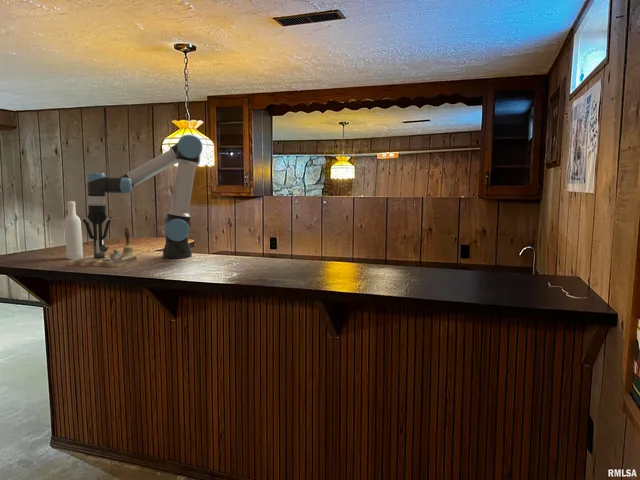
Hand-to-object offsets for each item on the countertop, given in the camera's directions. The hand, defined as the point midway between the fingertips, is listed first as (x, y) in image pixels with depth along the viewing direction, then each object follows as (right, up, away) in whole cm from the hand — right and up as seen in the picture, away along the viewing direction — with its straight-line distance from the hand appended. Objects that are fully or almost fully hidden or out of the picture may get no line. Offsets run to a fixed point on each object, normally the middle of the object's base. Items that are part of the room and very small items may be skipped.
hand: (98, 252), depth 222 cm
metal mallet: (0, -3, +4) cm, 5 cm away
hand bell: (+5, -3, +24) cm, 25 cm away
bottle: (-21, -4, +18) cm, 28 cm away
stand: (-1, -5, +6) cm, 8 cm away
